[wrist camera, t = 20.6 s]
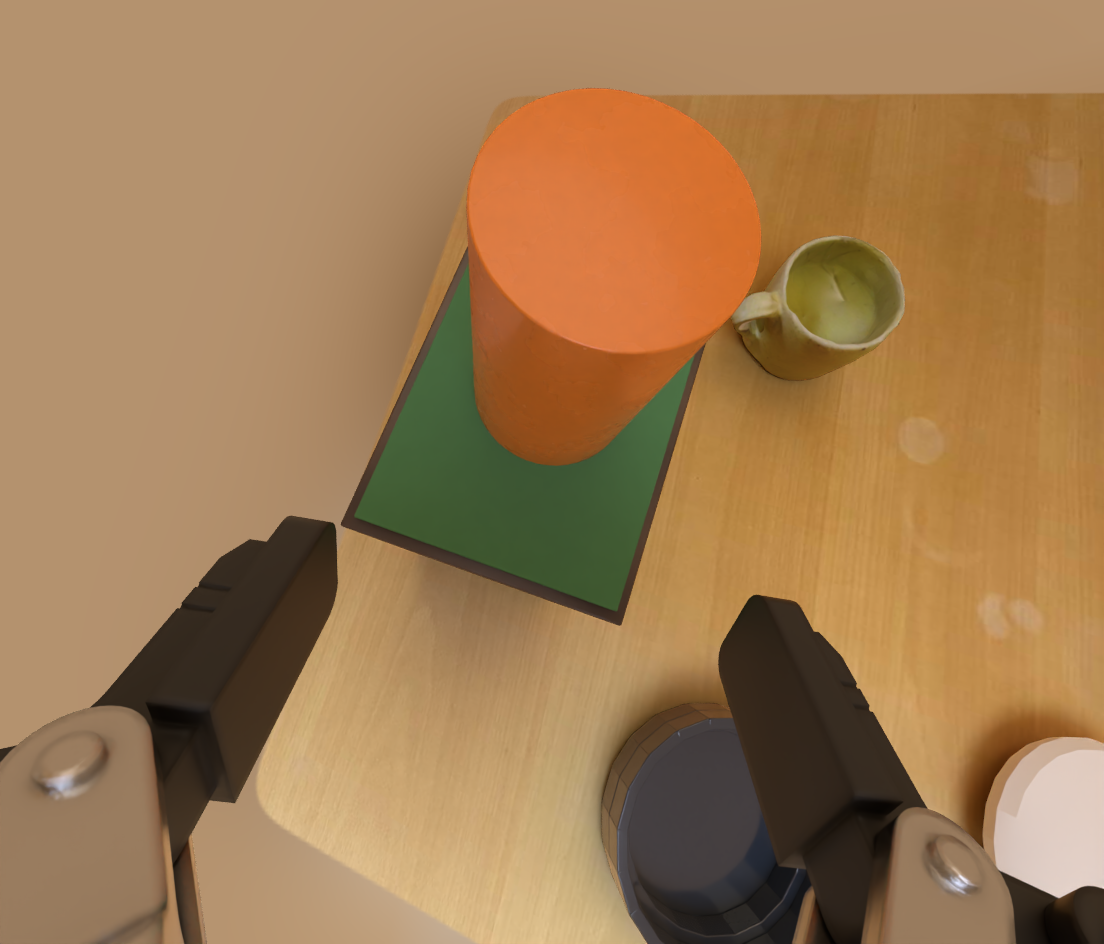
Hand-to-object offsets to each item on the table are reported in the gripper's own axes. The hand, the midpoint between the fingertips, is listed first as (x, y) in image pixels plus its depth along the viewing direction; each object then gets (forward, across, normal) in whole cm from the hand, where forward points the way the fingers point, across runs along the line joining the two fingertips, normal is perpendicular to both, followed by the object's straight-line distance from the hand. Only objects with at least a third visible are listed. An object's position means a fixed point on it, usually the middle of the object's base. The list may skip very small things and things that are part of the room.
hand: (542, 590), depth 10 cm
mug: (+36, -19, +3) cm, 41 cm away
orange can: (+10, 0, 0) cm, 10 cm away
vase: (+11, -44, +28) cm, 54 cm away
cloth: (+10, 0, 0) cm, 10 cm away
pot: (+10, -17, +29) cm, 35 cm away
